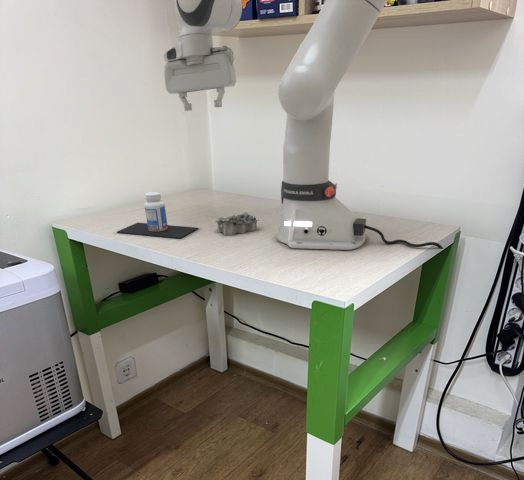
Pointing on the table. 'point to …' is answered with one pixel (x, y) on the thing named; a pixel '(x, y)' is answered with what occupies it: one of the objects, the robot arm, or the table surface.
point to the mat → (170, 232)
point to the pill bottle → (155, 212)
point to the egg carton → (236, 224)
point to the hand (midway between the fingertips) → (203, 109)
